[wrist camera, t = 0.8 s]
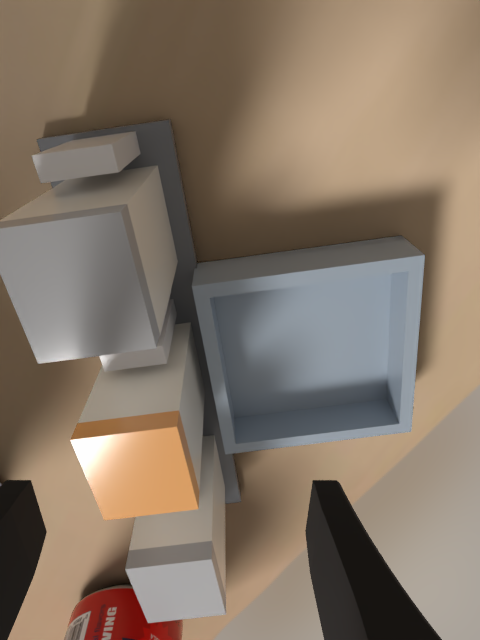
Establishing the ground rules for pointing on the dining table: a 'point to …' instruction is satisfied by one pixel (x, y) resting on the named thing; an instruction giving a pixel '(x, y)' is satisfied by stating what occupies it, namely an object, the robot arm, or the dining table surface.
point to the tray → (312, 342)
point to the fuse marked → (145, 435)
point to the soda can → (117, 618)
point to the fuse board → (159, 149)
